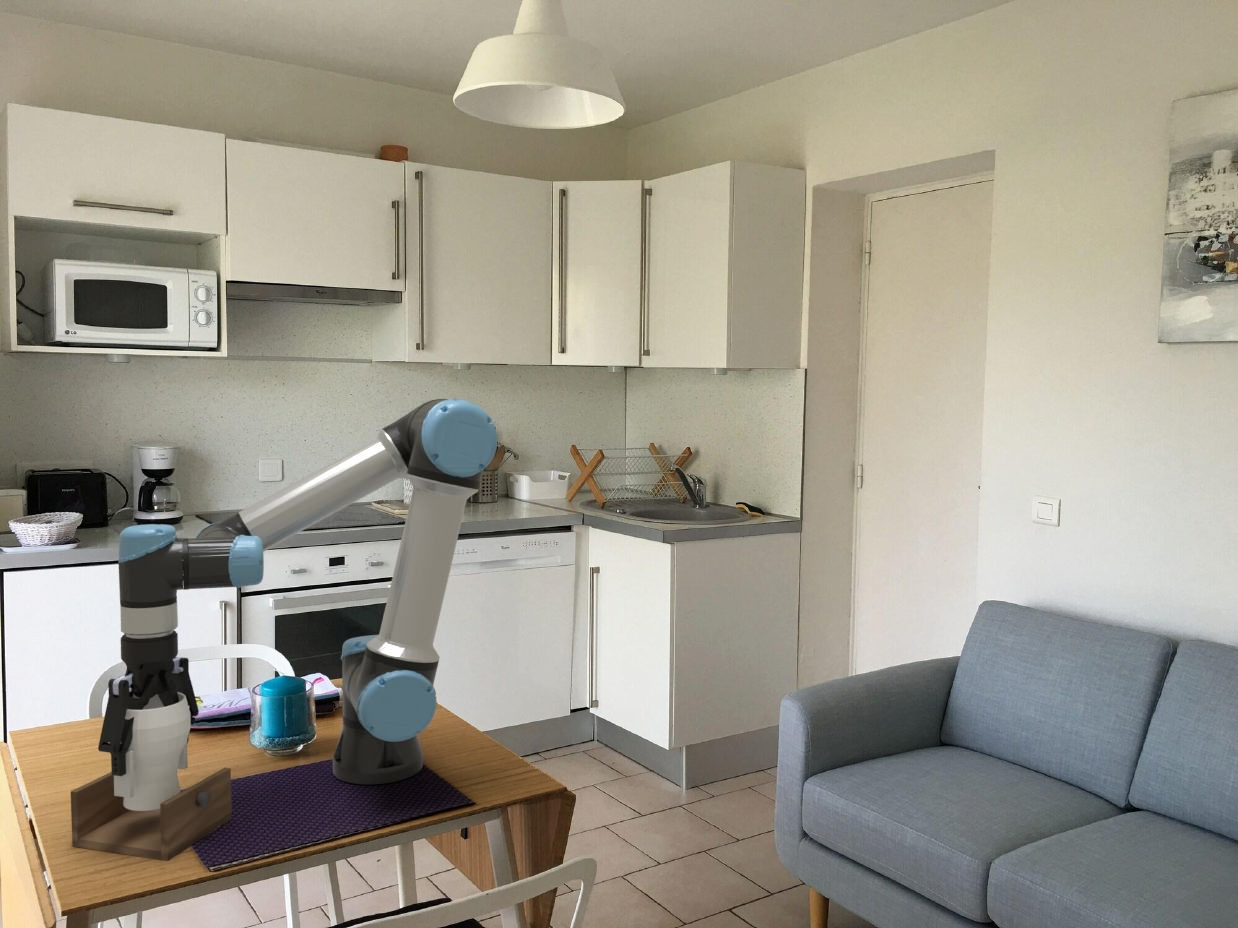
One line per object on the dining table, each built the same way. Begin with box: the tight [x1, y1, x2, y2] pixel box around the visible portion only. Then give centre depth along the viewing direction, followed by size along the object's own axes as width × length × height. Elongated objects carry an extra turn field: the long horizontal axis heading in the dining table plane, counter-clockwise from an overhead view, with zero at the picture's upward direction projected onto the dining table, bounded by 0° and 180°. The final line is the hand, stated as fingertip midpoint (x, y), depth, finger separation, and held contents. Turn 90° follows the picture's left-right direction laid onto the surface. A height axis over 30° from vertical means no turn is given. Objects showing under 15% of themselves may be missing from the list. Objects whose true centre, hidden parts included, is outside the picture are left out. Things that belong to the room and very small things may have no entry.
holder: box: [70, 767, 233, 862], centre depth 149 cm, size 18×14×8 cm
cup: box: [120, 692, 192, 811], centre depth 149 cm, size 11×11×15 cm
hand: (152, 781), depth 149 cm, fingers closed on cup, 10 cm apart
